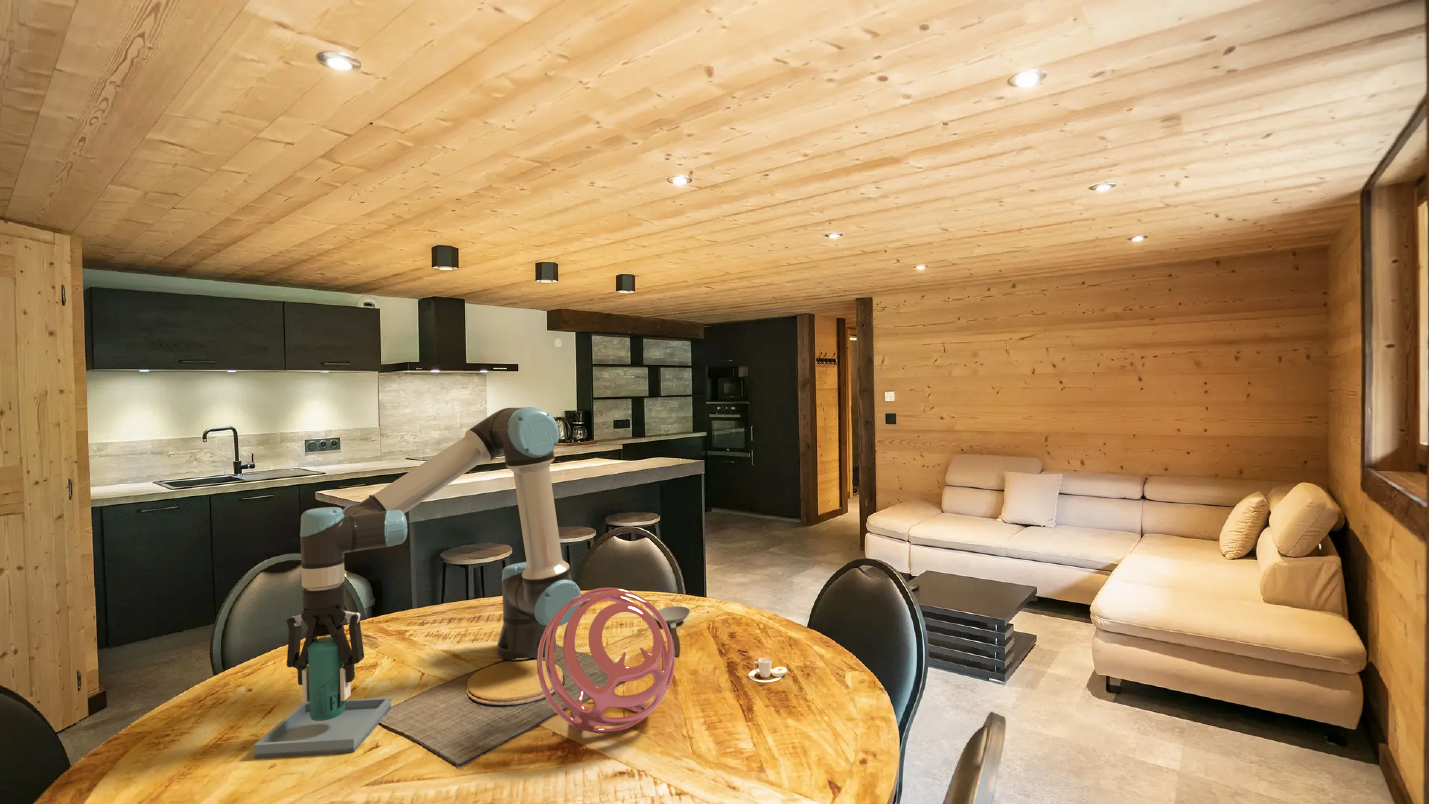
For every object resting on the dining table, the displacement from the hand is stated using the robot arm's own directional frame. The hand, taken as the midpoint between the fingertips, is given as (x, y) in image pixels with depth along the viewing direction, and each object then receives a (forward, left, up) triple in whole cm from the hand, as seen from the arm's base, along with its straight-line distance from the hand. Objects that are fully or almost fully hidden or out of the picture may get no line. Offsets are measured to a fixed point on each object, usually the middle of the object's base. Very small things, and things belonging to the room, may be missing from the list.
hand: (327, 698), depth 137 cm
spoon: (-71, -46, -7) cm, 85 cm away
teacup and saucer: (-93, -12, -7) cm, 94 cm away
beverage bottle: (0, 0, -5) cm, 5 cm away
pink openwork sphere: (-57, +4, -7) cm, 57 cm away
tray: (0, 0, -7) cm, 7 cm away
